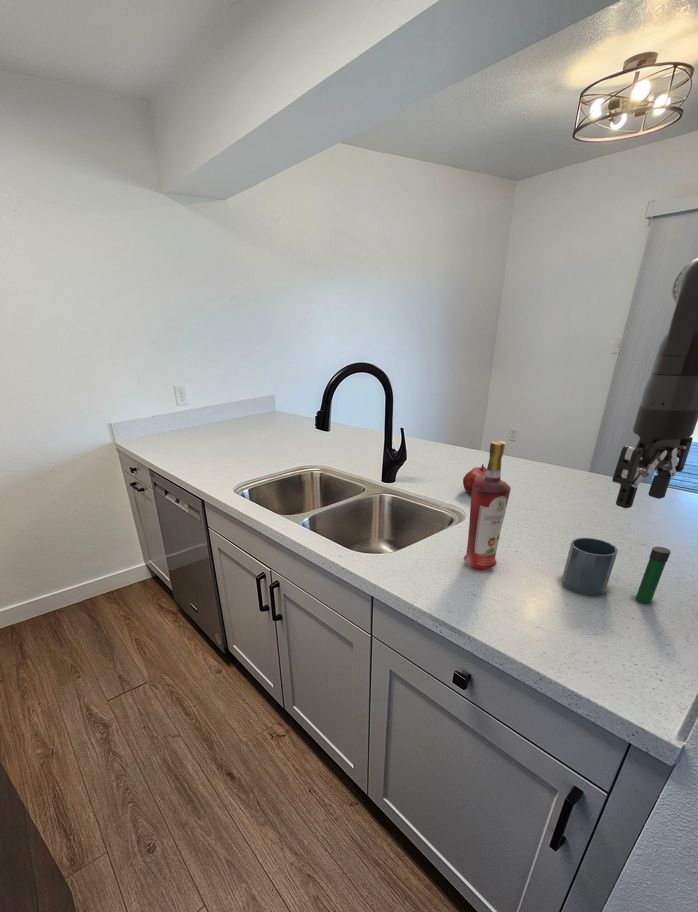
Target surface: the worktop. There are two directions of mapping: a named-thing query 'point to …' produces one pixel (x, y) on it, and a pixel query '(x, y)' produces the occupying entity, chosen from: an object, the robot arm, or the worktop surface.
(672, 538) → the worktop surface
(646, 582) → the green marker
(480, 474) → the fruit
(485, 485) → the liquor
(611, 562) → the grey cylindrical cup
